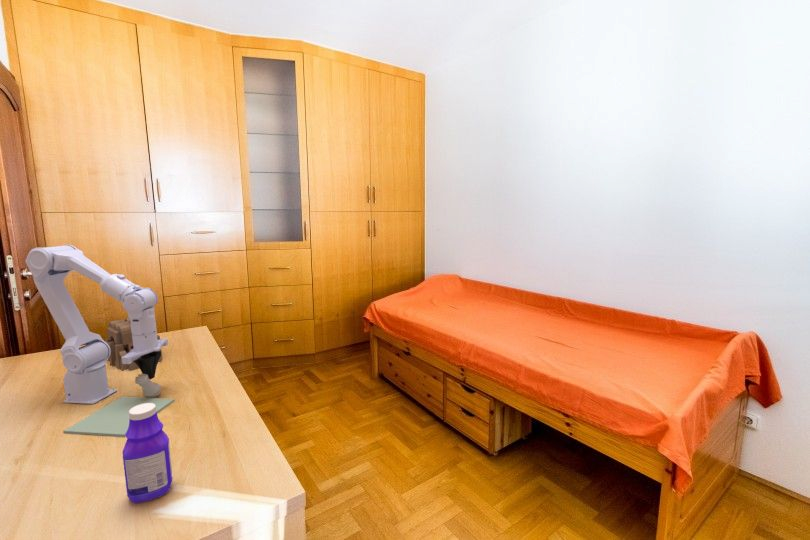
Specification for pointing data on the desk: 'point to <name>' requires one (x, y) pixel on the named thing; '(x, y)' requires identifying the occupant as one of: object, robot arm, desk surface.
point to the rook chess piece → (148, 386)
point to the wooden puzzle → (121, 343)
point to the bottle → (146, 455)
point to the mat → (114, 417)
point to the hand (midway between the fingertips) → (149, 378)
